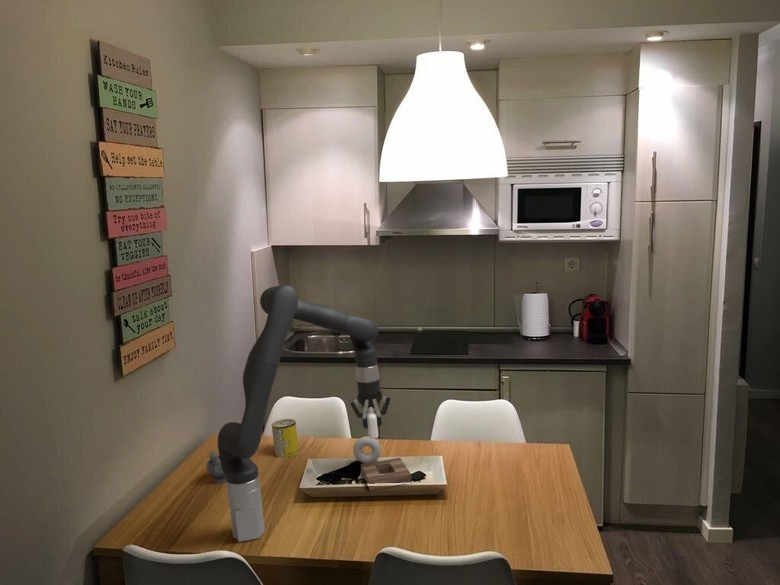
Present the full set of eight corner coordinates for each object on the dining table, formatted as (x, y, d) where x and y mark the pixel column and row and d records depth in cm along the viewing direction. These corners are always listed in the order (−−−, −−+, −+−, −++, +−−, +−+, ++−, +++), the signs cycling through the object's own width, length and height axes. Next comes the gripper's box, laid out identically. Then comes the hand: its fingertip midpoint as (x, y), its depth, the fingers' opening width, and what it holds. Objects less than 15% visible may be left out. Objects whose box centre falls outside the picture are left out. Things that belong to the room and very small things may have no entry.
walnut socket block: (411, 483, 221) (410, 473, 221) (369, 491, 218) (369, 480, 218) (400, 467, 235) (400, 457, 234) (361, 473, 232) (360, 464, 231)
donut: (382, 460, 242) (380, 433, 240) (382, 464, 238) (379, 437, 237) (354, 462, 242) (352, 435, 240) (353, 466, 239) (351, 439, 237)
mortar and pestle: (215, 473, 242) (211, 441, 240) (240, 473, 240) (236, 441, 239) (202, 487, 231) (198, 454, 229) (228, 487, 229) (224, 453, 228)
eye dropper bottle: (382, 433, 228) (379, 399, 226) (375, 440, 222) (372, 405, 220) (370, 432, 229) (367, 399, 227) (363, 439, 224) (360, 404, 222)
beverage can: (279, 448, 260) (275, 419, 259) (301, 448, 259) (298, 418, 257) (271, 458, 252) (268, 427, 250) (295, 457, 250) (291, 427, 248)
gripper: (347, 383, 218) (352, 434, 221) (390, 378, 220) (395, 428, 222) (345, 377, 225) (350, 426, 228) (387, 372, 227) (391, 421, 230)
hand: (372, 427), depth 225 cm, fingers closed on eye dropper bottle, 3 cm apart
